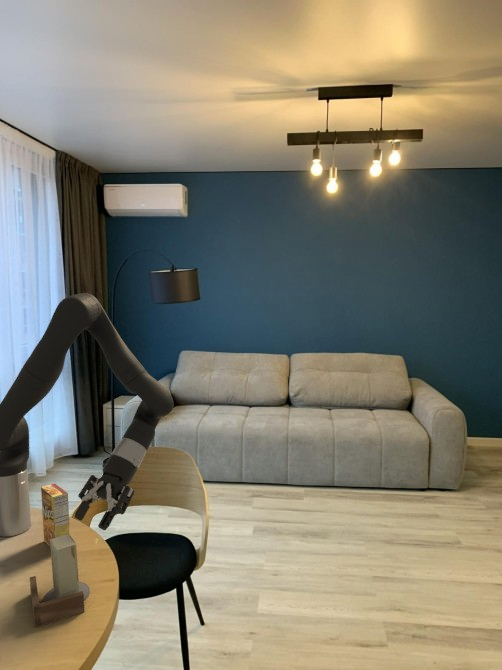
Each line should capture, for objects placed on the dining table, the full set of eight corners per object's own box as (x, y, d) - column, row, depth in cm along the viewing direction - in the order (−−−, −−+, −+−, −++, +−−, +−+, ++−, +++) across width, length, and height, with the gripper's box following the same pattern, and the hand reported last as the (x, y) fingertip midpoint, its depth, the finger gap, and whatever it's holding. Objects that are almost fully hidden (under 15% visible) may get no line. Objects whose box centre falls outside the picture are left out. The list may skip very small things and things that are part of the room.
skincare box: (80, 597, 107) (77, 544, 106) (60, 605, 105) (56, 551, 103) (72, 583, 112) (69, 532, 111) (52, 590, 110) (49, 538, 109)
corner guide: (30, 594, 109) (29, 577, 109) (76, 581, 114) (75, 565, 113) (34, 627, 98) (33, 608, 98) (84, 611, 103) (83, 594, 102)
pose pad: (48, 585, 112) (48, 584, 112) (92, 579, 114) (92, 578, 114) (39, 613, 103) (39, 611, 103) (86, 606, 105) (86, 604, 105)
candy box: (43, 541, 132) (39, 487, 130) (58, 535, 135) (55, 482, 133) (55, 554, 125) (52, 497, 124) (72, 547, 128) (68, 492, 127)
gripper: (97, 448, 122) (59, 510, 114) (136, 459, 114) (99, 525, 106) (114, 462, 127) (80, 522, 119) (153, 473, 119) (119, 538, 111)
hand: (89, 523), depth 113 cm, fingers open, 8 cm apart
